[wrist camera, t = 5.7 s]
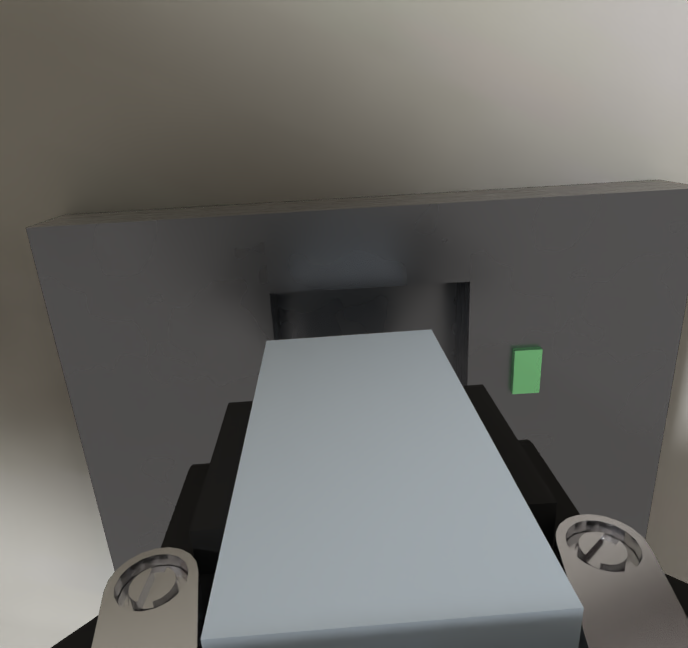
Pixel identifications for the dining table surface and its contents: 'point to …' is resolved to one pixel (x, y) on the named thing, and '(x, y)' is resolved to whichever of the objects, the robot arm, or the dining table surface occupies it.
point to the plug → (379, 512)
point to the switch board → (372, 323)
